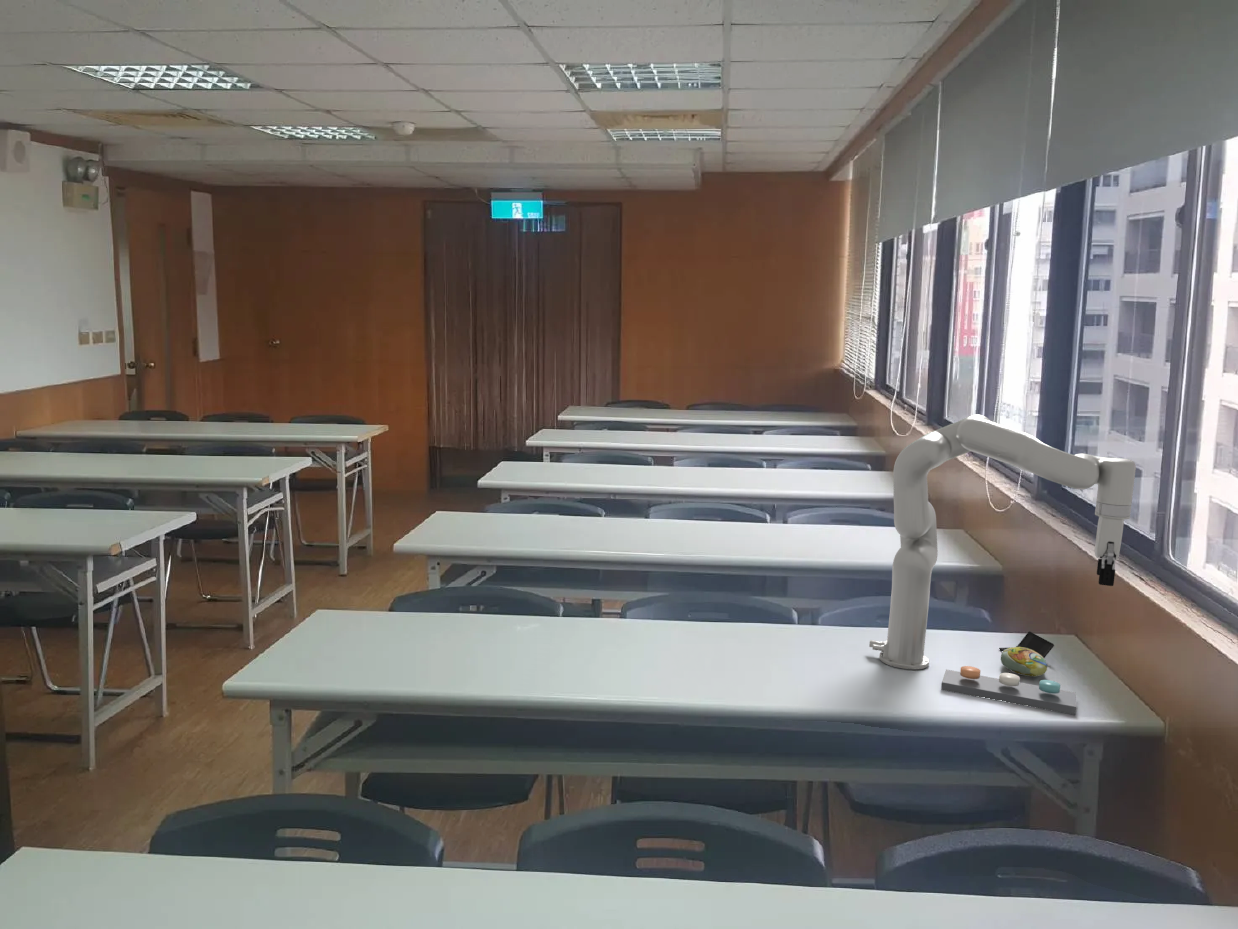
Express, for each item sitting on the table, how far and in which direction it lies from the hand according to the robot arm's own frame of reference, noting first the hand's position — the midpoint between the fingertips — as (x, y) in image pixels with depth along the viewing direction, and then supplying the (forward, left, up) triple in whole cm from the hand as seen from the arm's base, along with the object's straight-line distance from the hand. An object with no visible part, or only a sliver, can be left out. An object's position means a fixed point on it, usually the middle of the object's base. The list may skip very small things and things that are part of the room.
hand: (1104, 580), depth 242 cm
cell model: (-15, +10, -30) cm, 35 cm away
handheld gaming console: (-15, +23, -30) cm, 41 cm away
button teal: (-9, -10, -26) cm, 29 cm away
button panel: (-18, -10, -29) cm, 36 cm away
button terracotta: (-27, -10, -26) cm, 39 cm away
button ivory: (-18, -10, -26) cm, 33 cm away
